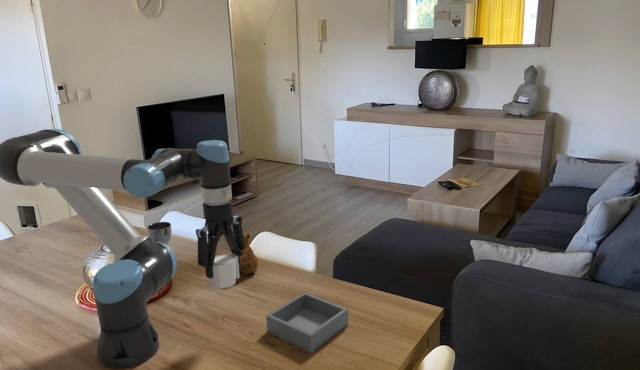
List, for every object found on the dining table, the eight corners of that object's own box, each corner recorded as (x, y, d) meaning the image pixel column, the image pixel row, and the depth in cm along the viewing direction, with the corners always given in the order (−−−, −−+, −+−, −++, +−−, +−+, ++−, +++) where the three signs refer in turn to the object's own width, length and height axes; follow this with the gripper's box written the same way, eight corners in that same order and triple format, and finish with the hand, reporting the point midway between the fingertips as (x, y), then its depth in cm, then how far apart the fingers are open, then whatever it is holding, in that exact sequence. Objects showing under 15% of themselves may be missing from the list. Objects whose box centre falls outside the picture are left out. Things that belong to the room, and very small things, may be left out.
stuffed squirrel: (255, 259, 180) (253, 226, 176) (264, 275, 167) (262, 240, 164) (228, 264, 177) (225, 230, 173) (235, 281, 164) (232, 245, 160)
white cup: (232, 290, 128) (230, 265, 126) (207, 288, 129) (205, 264, 127) (241, 277, 135) (239, 254, 133) (218, 276, 136) (215, 253, 134)
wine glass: (180, 262, 179) (175, 224, 175) (162, 270, 173) (157, 231, 169) (165, 257, 184) (160, 220, 179) (148, 266, 177) (142, 227, 173)
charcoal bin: (311, 352, 125) (310, 335, 124) (267, 331, 135) (266, 315, 134) (348, 324, 137) (348, 309, 136) (305, 307, 147) (304, 292, 145)
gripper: (194, 214, 116) (204, 301, 122) (255, 193, 130) (261, 272, 137) (176, 208, 120) (185, 292, 127) (236, 189, 135) (242, 265, 142)
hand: (224, 281), depth 132 cm, fingers closed on white cup, 7 cm apart
